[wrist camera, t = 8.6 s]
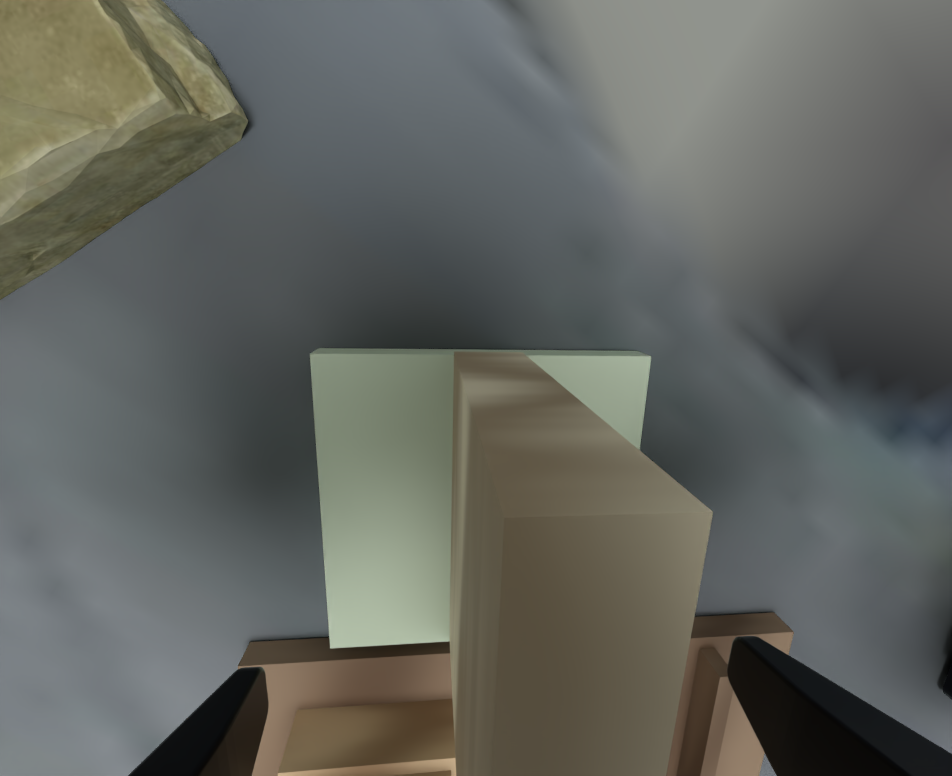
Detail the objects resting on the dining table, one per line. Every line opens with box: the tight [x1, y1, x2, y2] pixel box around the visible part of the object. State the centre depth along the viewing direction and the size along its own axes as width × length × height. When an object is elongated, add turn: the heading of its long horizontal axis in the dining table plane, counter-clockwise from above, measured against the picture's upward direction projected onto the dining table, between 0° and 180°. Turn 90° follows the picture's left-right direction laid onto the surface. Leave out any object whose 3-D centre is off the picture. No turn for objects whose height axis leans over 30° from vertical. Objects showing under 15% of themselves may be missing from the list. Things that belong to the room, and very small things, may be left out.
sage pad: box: [310, 348, 651, 648], centre depth 14 cm, size 10×10×1 cm
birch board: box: [449, 351, 713, 776], centre depth 10 cm, size 2×10×9 cm, turn 178°
